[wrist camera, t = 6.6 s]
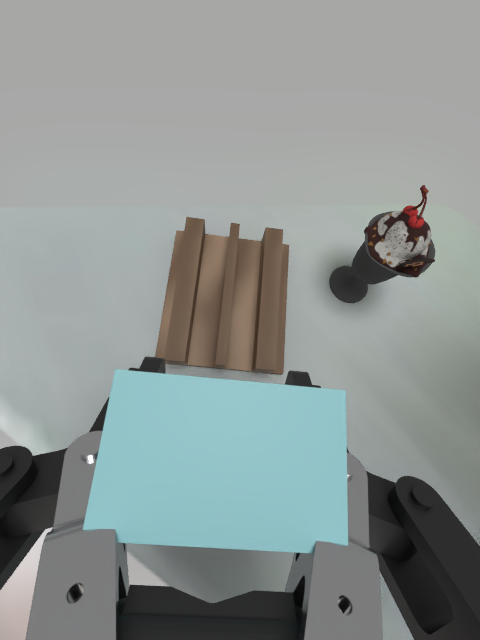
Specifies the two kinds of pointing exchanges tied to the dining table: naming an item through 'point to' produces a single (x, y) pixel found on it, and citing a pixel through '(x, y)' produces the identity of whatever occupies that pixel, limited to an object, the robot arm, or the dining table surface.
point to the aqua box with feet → (221, 464)
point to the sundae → (387, 252)
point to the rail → (225, 301)
